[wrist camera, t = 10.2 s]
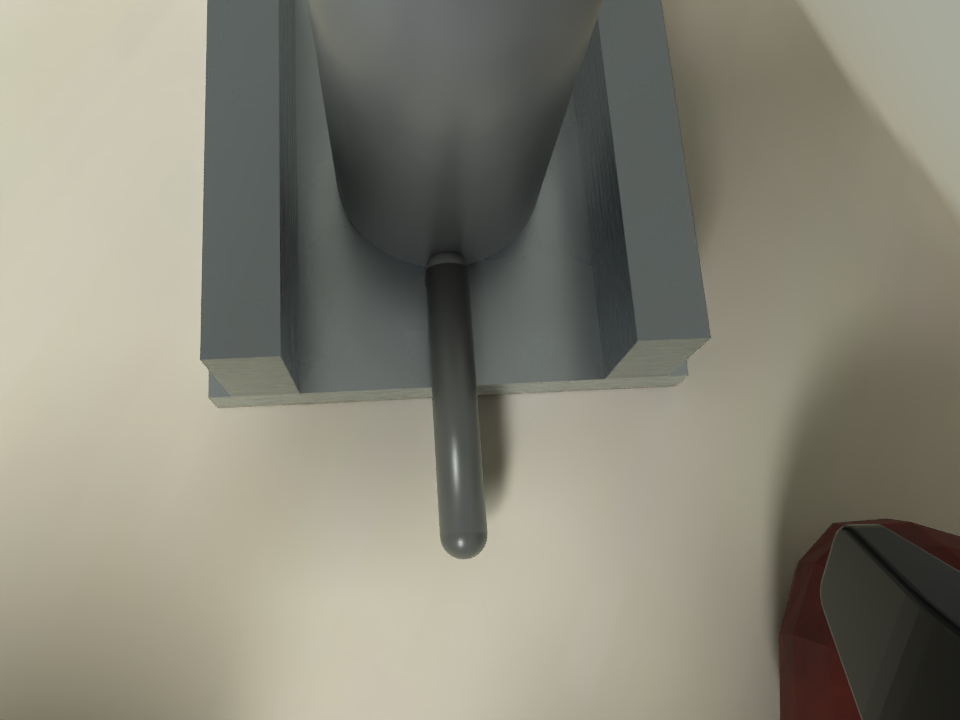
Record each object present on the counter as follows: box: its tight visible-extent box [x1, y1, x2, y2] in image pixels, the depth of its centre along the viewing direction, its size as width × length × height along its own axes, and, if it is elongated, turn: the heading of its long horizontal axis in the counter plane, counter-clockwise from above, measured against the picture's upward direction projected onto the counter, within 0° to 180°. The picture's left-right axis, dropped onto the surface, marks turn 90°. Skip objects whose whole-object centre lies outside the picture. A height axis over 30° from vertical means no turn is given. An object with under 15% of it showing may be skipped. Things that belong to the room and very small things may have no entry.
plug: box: [308, 0, 603, 559], centre depth 14 cm, size 12×5×14 cm, turn 4°
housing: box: [200, 0, 711, 408], centre depth 20 cm, size 11×11×4 cm
